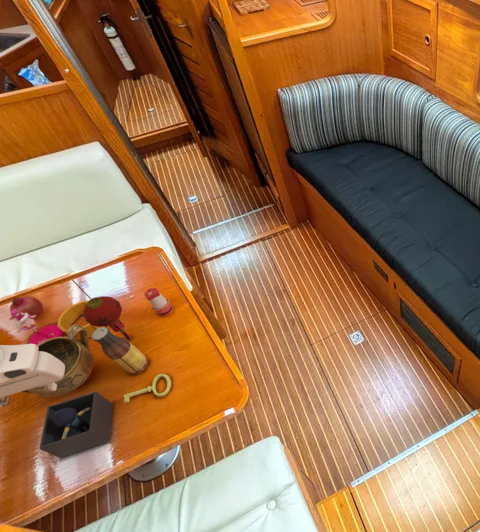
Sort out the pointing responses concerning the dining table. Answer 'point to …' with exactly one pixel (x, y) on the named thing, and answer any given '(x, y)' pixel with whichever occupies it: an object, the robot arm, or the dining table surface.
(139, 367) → the sauce bottle
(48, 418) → the bin
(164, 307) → the toy
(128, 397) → the key
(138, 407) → the dining table surface
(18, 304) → the fruit
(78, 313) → the toy bowl
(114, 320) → the lantern
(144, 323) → the dining table surface
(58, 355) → the ceramic bowl
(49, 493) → the dining table surface
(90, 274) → the dining table surface
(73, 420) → the character figure
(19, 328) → the figurine
